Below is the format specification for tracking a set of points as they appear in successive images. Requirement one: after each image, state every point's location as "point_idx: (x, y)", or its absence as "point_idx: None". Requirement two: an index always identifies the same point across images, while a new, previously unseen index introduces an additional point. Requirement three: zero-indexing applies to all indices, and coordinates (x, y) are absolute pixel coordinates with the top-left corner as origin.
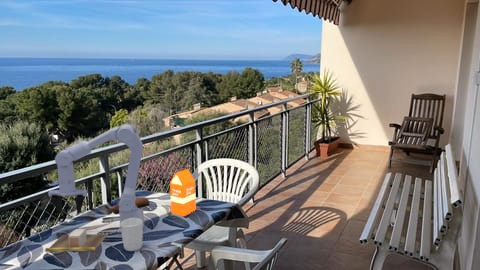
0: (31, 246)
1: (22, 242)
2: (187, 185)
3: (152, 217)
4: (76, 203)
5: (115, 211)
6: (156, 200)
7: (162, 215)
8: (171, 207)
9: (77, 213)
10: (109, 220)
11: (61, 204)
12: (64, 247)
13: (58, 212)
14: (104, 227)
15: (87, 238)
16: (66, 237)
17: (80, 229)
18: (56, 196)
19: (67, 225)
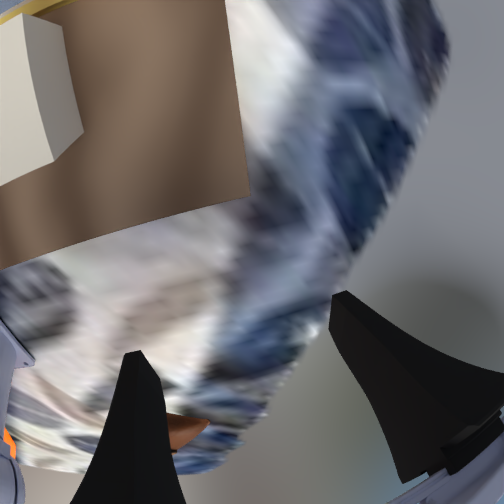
0: (359, 42)
1: (419, 95)
2: None
3: (17, 409)
4: (125, 475)
5: None
6: None
7: (8, 418)
8: None
9: (139, 353)
10: None
11: (366, 391)
12: (109, 26)
13: (351, 301)
14: (91, 333)
15: (45, 192)
16: (198, 164)
17: (9, 173)
18: (460, 456)
19: (298, 299)
